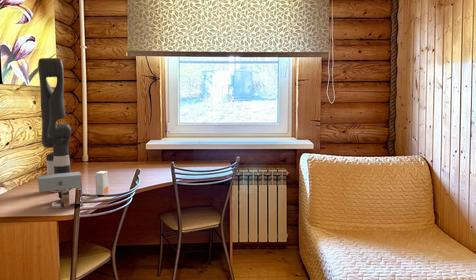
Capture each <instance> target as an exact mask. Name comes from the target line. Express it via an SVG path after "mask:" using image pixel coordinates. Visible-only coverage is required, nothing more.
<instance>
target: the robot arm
mask: <svg viewBox="0 0 476 280" xmlns="http://www.w3.org/2000/svg"><path fill="white" fill-rule="evenodd" d="M37 67H38V70H37V71H38V78H39V86H40V87H39V89H40V111H41V112H40V113H41V144H42V146H43V147H44V148H51V149H52V151H53V152H50V153H48V154H46V156H45V158H46V159H45V161H46V175H48V174H59V173H71V161H70V160H71V159H70V153H69V151H70V150H69V144H70V140H71V136H72V128H71V126H70V125H69V124H68V123H59V124H58V123H57V122H58V121H60V120H64V119H65V118H66V107H65V100H64V95H65V92H64V91H65V90H64V89H65V82H64V81H65V79H64V78H65V77H64V74H65V73H64V64H63V60H62V59H61V58H58V57H42V58H39V59H38V63H37ZM48 78H56V85H55V87H54V89H53V88H52V86H51V85H50V83H49V81H48ZM73 189H74V188H72V189H66V190H67V192H68V194H69V195H70V190H73ZM48 193H58V198H59V199H60V200H61V199H62V197H61V190H53V191H48Z"/></svg>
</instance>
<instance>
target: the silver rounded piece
mask: <svg viewBox="0 0 476 280" xmlns="http://www.w3.org/2000/svg"><path fill="white" fill-rule="evenodd" d="M51 208H52V209H60V208H64V206H63V202H62V200H60V201H58V200H57V201H54V202H52V203H51Z"/></svg>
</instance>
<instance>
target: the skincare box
mask: <svg viewBox="0 0 476 280" xmlns="http://www.w3.org/2000/svg"><path fill="white" fill-rule="evenodd" d="M94 175H95V176H94V177H95V195H104V196H106V195H108V194H109V175H108V171H107V170H106V171H105V170H100V171H97V172H95V173H94Z"/></svg>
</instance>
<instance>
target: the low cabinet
mask: <svg viewBox="0 0 476 280" xmlns="http://www.w3.org/2000/svg"><path fill="white" fill-rule="evenodd" d="M82 182H83V180H82V174H81V171H75V172H74V171H73V172H72V171H70V173H59V174H48V175H47V174H40V175H39V174H38V175H37V183H38V184H37V185H38V192H39V193H41V192H49V191H53V190H62V189H71V190H73V189H77V188H79V189H81V194H82V195H83V183H82ZM72 188H73V189H72ZM81 201H83V202H84V198H83V197H81ZM80 207H84V203H83V204H81V206H80Z"/></svg>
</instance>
